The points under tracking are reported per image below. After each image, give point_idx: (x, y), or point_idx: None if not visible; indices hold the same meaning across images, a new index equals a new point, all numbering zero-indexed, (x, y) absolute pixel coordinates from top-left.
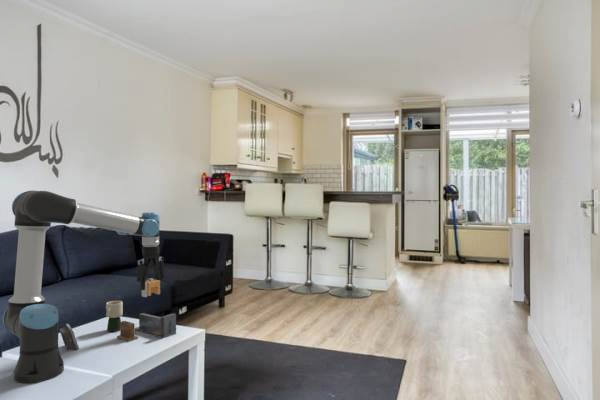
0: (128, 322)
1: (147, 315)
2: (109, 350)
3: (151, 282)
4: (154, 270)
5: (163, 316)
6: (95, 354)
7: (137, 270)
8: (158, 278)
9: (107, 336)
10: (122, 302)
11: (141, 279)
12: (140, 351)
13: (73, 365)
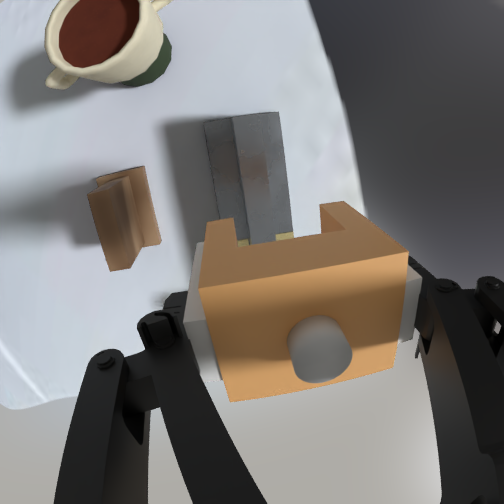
0: (113, 233)
1: (249, 184)
2: (51, 279)
3: (270, 395)
4: (455, 407)
5: None
6: (18, 280)
7: (57, 499)
8: (424, 334)
9: (84, 123)
10: (137, 41)
11: (135, 428)
12: (123, 350)
13: None
